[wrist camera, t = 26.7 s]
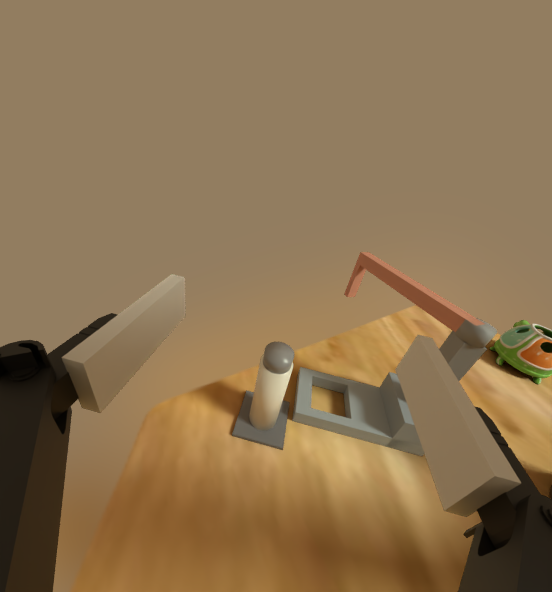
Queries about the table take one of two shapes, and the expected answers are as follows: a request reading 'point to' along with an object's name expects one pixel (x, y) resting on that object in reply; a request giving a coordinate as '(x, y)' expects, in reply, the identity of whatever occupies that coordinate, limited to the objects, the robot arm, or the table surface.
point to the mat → (268, 437)
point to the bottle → (271, 385)
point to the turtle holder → (526, 349)
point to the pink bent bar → (423, 300)
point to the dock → (375, 402)
